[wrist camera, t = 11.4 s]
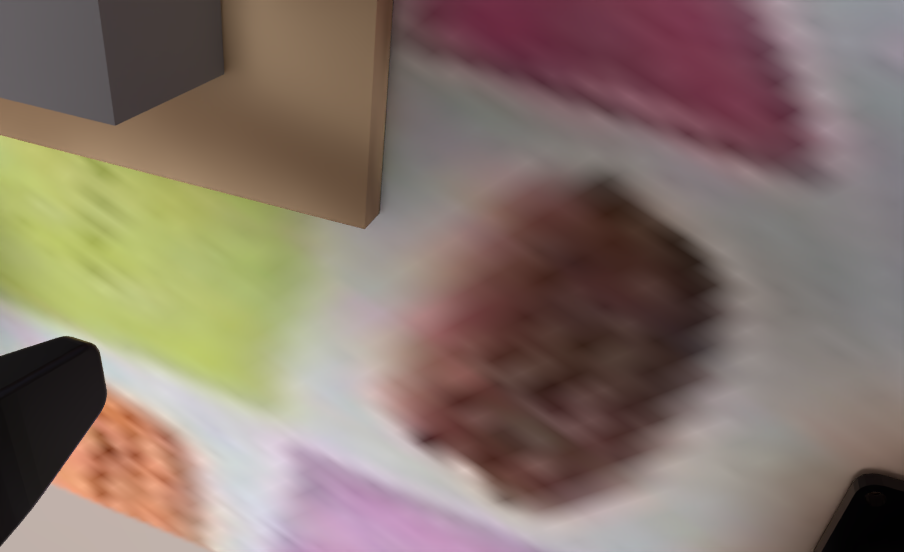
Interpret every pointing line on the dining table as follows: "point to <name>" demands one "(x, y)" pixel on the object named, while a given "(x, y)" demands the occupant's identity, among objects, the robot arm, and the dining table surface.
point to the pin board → (260, 112)
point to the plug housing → (107, 54)
